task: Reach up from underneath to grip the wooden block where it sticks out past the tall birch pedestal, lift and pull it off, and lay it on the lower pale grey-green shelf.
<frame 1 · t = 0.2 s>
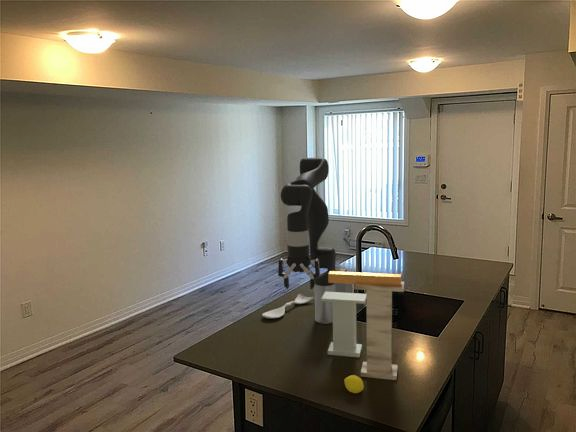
hand: (299, 288, 166), 29 cm above the worktop, tool pointing down, fingers open, 8 cm apart
perfume bottle: (343, 306, 230), on the worktop
low shelf: (344, 351, 182), on the worktop
tall pedestal: (379, 372, 165), on the worktop
spoon: (287, 310, 227), on the worktop
plant pot: (368, 293, 247), on the worktop
lemon: (353, 392, 154), on the worktop
wooden block: (364, 283, 161), point 32 cm above the worktop, touching tall pedestal
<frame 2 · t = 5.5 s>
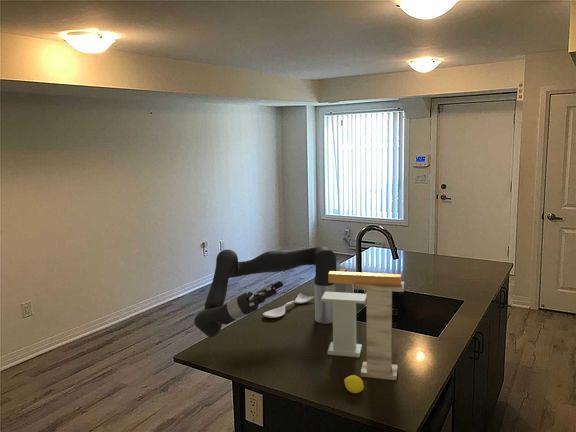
hand: (278, 286, 170), 29 cm above the worktop, tool pointing upward, fingers open, 8 cm apart
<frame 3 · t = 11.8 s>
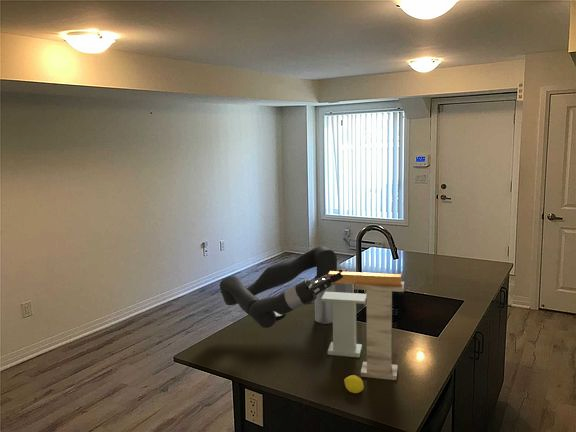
hand: (342, 273, 163), 35 cm above the worktop, tool pointing upward, fingers closed on wooden block, 3 cm apart
wooden block: (364, 283, 161), point 32 cm above the worktop, touching gripper, tall pedestal
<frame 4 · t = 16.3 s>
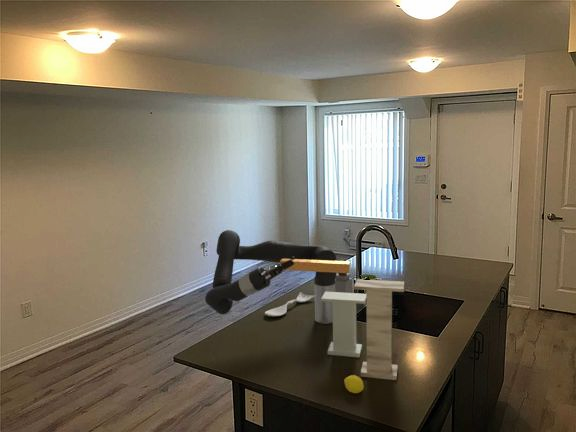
hand: (293, 260, 166), 39 cm above the worktop, tool pointing upward, fingers closed on wooden block, 3 cm apart
wooden block: (315, 270, 165), point 36 cm above the worktop, touching gripper
when the fingers open (27 cm above the worktop, at t = 21.3 s): wooden block drops 1 cm, resting on low shelf.
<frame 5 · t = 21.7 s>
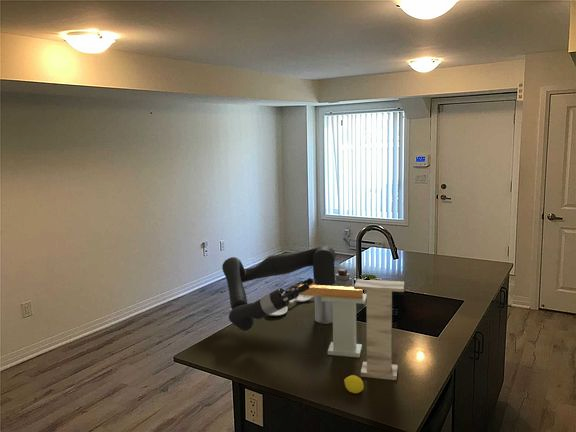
hand: (310, 282, 181), 26 cm above the worktop, tool pointing upward, fingers open, 6 cm apart
wooden block: (330, 295, 180), point 22 cm above the worktop, touching low shelf
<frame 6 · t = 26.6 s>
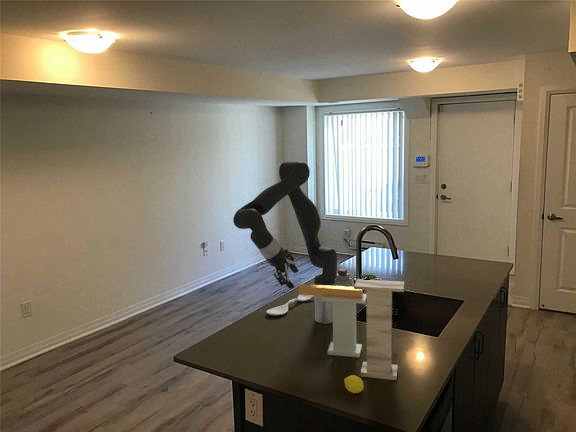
hand: (294, 279, 185), 27 cm above the worktop, tool tilted 35°, fingers open, 8 cm apart
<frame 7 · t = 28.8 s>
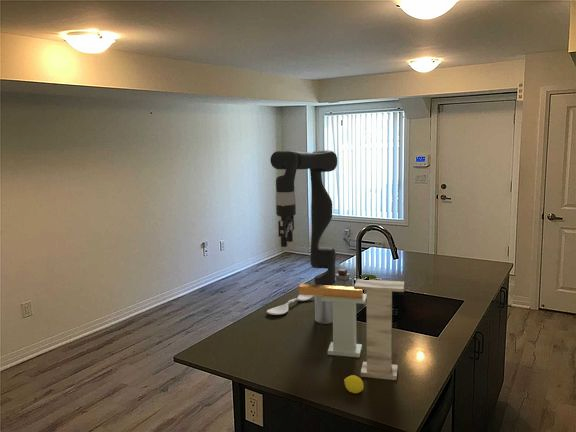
hand: (287, 244, 186), 40 cm above the worktop, tool pointing down, fingers open, 8 cm apart
at the end: wooden block inside the target area on the low shelf (1.2 cm from its centre), point 22.0 cm above the low shelf's base; the gripper is holding nothing; wooden block tilted 0° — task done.
